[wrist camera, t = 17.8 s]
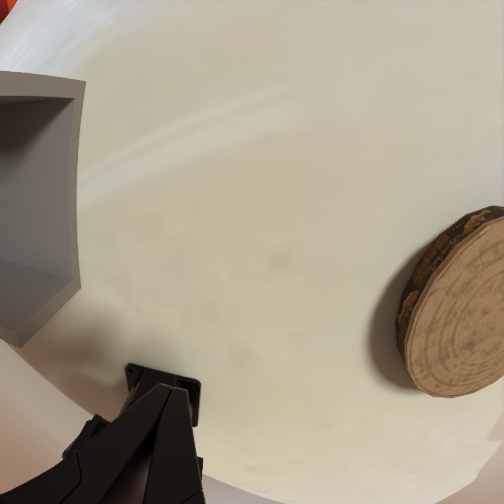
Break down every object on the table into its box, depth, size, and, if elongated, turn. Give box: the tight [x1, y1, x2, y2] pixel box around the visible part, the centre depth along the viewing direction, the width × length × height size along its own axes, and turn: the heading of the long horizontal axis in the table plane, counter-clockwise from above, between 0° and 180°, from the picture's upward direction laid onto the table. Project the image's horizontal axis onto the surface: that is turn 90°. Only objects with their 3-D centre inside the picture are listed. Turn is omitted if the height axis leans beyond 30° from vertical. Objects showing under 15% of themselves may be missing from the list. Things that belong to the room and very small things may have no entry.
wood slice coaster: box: [395, 206, 504, 398], centre depth 18 cm, size 16×16×3 cm
